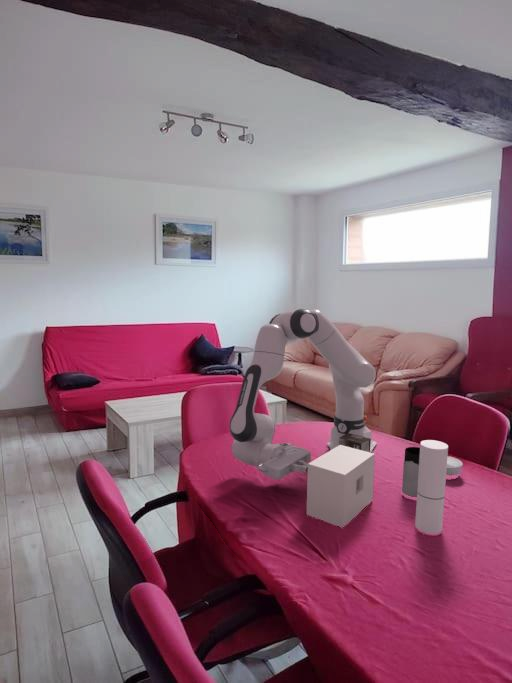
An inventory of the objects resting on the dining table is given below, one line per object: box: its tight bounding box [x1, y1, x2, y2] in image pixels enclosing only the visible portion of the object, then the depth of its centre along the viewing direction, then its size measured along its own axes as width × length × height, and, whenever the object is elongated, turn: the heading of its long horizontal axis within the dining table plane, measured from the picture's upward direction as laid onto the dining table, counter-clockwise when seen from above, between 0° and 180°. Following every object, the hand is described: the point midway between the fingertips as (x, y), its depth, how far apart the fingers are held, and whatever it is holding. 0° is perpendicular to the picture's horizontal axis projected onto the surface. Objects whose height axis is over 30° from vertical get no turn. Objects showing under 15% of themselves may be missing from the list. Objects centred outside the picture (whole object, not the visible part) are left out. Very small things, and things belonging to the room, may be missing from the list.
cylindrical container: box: [414, 439, 449, 534], centre depth 129 cm, size 7×7×25 cm
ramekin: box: [446, 456, 464, 476], centre depth 166 cm, size 11×11×5 cm
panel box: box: [306, 445, 376, 528], centre depth 140 cm, size 20×12×16 cm, turn 142°
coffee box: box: [339, 433, 372, 452], centre depth 158 cm, size 9×6×16 cm
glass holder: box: [401, 446, 420, 497], centre depth 152 cm, size 9×14×15 cm, turn 137°
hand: (308, 469), depth 147 cm, fingers closed
